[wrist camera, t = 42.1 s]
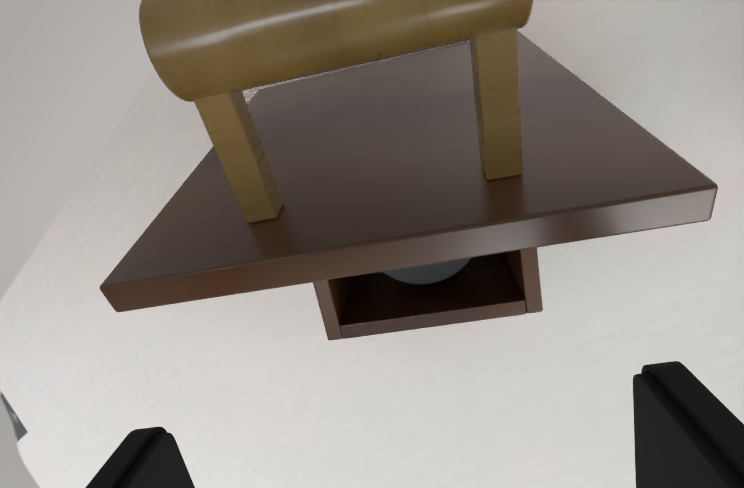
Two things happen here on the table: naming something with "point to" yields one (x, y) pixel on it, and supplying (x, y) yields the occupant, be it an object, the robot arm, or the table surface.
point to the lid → (383, 147)
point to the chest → (431, 297)
